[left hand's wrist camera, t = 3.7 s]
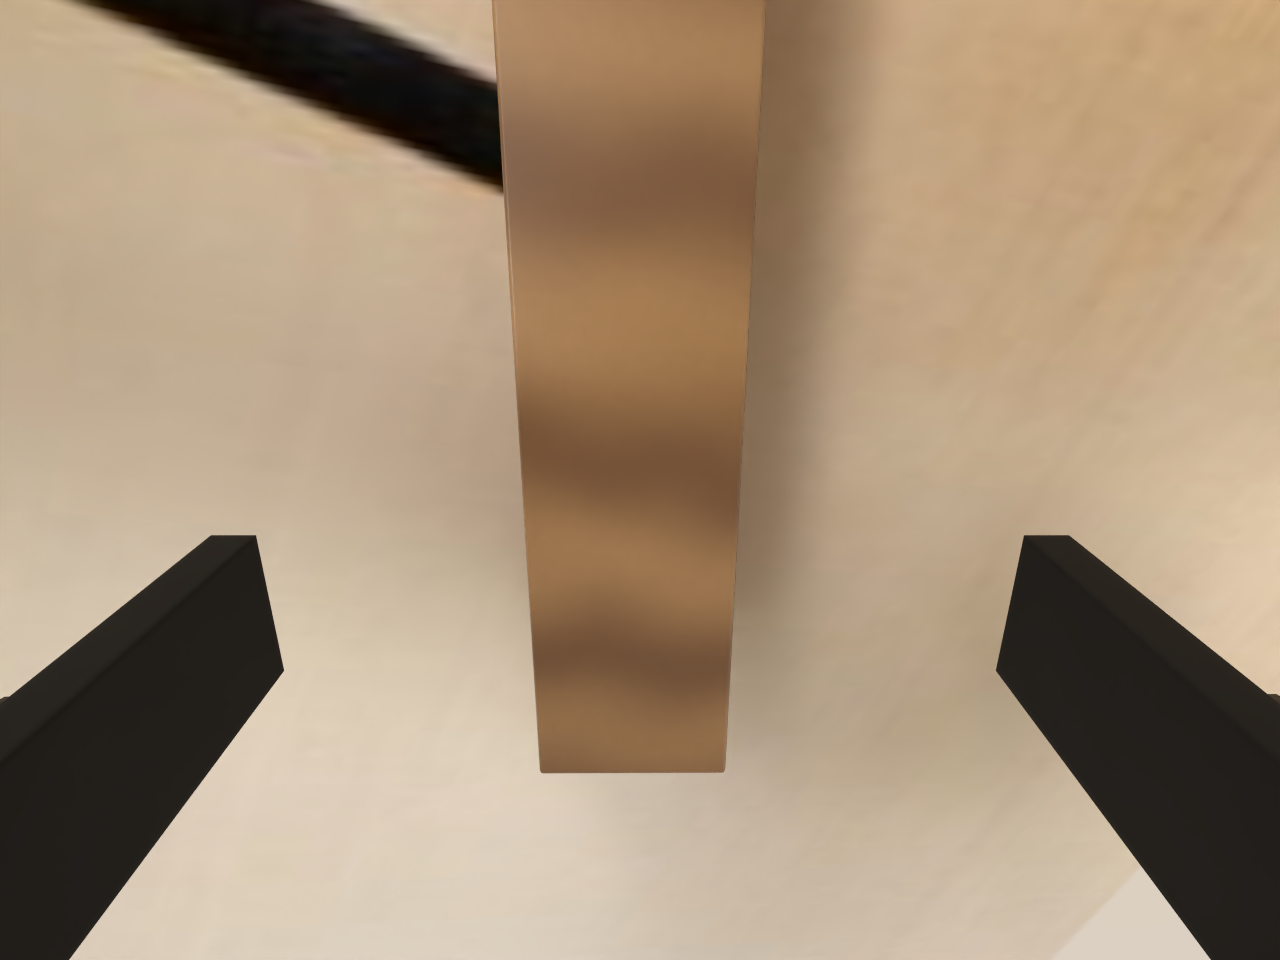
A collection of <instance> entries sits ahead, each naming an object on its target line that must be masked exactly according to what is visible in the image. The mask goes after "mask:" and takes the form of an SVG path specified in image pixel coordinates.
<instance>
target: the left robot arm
mask: <svg viewBox="0 0 1280 960" xmlns="http://www.w3.org/2000/svg"><path fill="white" fill-rule="evenodd" d="M283 671H284V668H283V663H282V658H281V654H280V649H279V644H278V639H277V635H276V630H275V625H274V620H273V615H272V611H271V606H270V601H269V596H268V591H267V587H266V582H265V577H264V572H263V567H262V563H261V558H260V553H259V548H258V543H257V539H256V535H211V536H210V537H208V538H207V539H206V540H205V541H203V542H202V543H201V544H200V545H198V546H197V547H196V548H195V549H193V550H192V551H191V552H190V553H188V554H187V555H186V556H185V557H183V558H182V559H181V560H180V561H178V562H177V563H176V564H175V565H173V566H172V567H171V568H170V569H168V570H167V571H166V572H165V573H163V574H162V575H161V576H160V577H158V578H157V579H156V580H155V581H153V582H152V583H151V584H150V585H148V586H147V587H146V588H145V589H143V590H142V591H141V592H140V593H138V594H137V595H136V596H135V597H133V598H132V599H131V600H130V601H128V602H127V603H126V604H125V605H123V606H122V607H121V608H120V609H118V610H117V611H116V612H115V613H113V614H112V615H111V616H110V617H108V618H107V619H106V620H105V621H103V622H102V623H101V624H100V625H98V626H97V627H96V628H95V629H93V630H92V631H91V632H90V633H88V634H87V635H86V636H85V637H83V638H82V639H81V640H80V641H78V642H77V643H76V644H75V645H73V646H72V647H71V648H70V649H68V650H67V651H66V652H65V653H63V654H62V655H61V656H60V657H58V658H57V659H56V660H55V661H53V662H52V663H51V664H50V665H48V666H47V667H46V668H45V669H43V670H42V671H41V672H40V673H38V674H37V675H36V676H35V677H33V678H32V679H31V680H30V681H28V682H27V683H26V684H25V685H23V686H22V687H21V688H20V689H18V690H17V691H16V692H15V693H13V694H12V695H11V696H10V697H3V698H2V699H0V960H69V959H70V958H71V956H72V955H73V954H74V952H75V951H76V950H77V948H78V947H79V946H80V944H81V943H82V942H83V940H84V939H85V938H86V936H87V935H88V934H89V932H90V931H91V930H92V928H93V927H94V925H95V924H96V923H97V921H98V920H99V919H100V917H101V916H102V915H103V913H104V912H105V911H106V909H107V908H108V907H109V905H110V904H111V903H112V901H113V900H114V899H115V897H116V896H117V895H118V893H119V892H120V891H121V889H122V888H123V887H124V885H125V884H126V882H127V881H128V880H129V878H130V877H131V876H132V874H133V873H134V872H135V870H136V869H137V868H138V866H139V865H140V864H141V862H142V861H143V860H144V858H145V857H146V856H147V854H148V853H149V852H150V850H151V849H152V848H153V846H154V845H155V843H156V842H157V841H158V839H159V838H160V837H161V835H162V834H163V833H164V831H165V830H166V829H167V827H168V826H169V825H170V823H171V822H172V821H173V819H174V818H175V817H176V815H177V814H178V813H179V811H180V810H181V809H182V807H183V806H184V805H185V803H186V802H187V800H188V799H189V798H190V796H191V795H192V794H193V792H194V791H195V790H196V788H197V787H198V786H199V784H200V783H201V782H202V780H203V779H204V778H205V776H206V775H207V774H208V772H209V771H210V770H211V768H212V767H213V766H214V764H215V763H216V762H217V760H218V759H219V757H220V756H221V755H222V753H223V752H224V751H225V749H226V748H227V747H228V745H229V744H230V743H231V741H232V740H233V739H234V737H235V736H236V735H237V733H238V732H239V731H240V729H241V728H242V727H243V725H244V724H245V723H246V721H247V720H248V718H249V717H250V716H251V714H252V713H253V712H254V710H255V709H256V708H257V706H258V705H259V704H260V702H261V701H262V700H263V698H264V697H265V696H266V694H267V693H268V692H269V690H270V689H271V688H272V686H273V685H274V684H275V682H276V681H277V680H278V678H279V677H280V675H281V674H282V673H283ZM996 671H997V673H998V674H999V675H1000V677H1001V678H1002V680H1003V681H1004V682H1005V684H1006V685H1007V686H1008V688H1009V689H1010V690H1011V692H1012V693H1013V694H1014V696H1015V697H1016V698H1017V700H1018V701H1019V702H1020V704H1021V705H1022V706H1023V708H1024V709H1025V710H1026V712H1027V713H1028V714H1029V716H1030V717H1031V718H1032V720H1033V721H1034V723H1035V724H1036V725H1037V727H1038V728H1039V729H1040V731H1041V732H1042V733H1043V735H1044V736H1045V737H1046V739H1047V740H1048V741H1049V743H1050V744H1051V745H1052V747H1053V748H1054V749H1055V751H1056V752H1057V753H1058V755H1059V756H1060V757H1061V759H1062V760H1063V762H1064V763H1065V764H1066V766H1067V767H1068V768H1069V770H1070V771H1071V772H1072V774H1073V775H1074V776H1075V778H1076V779H1077V780H1078V782H1079V783H1080V784H1081V786H1082V787H1083V788H1084V790H1085V791H1086V792H1087V794H1088V795H1089V796H1090V798H1091V799H1092V800H1093V802H1094V803H1095V805H1096V806H1097V807H1098V809H1099V810H1100V811H1101V813H1102V814H1103V815H1104V817H1105V818H1106V819H1107V821H1108V822H1109V823H1110V825H1111V826H1112V827H1113V829H1114V830H1115V831H1116V833H1117V834H1118V835H1119V837H1120V838H1121V839H1122V841H1123V842H1124V843H1125V845H1126V846H1127V848H1128V849H1129V850H1130V852H1131V853H1132V854H1133V856H1134V857H1135V858H1136V860H1137V861H1138V862H1139V864H1140V865H1141V866H1142V868H1143V869H1144V870H1145V872H1146V873H1147V874H1148V876H1149V877H1150V878H1151V880H1152V881H1153V882H1154V884H1155V885H1156V886H1157V888H1158V889H1159V891H1160V892H1161V893H1162V895H1163V896H1164V897H1165V899H1166V900H1167V901H1168V903H1169V904H1170V905H1171V907H1172V908H1173V909H1174V911H1175V912H1176V913H1177V915H1178V916H1179V917H1180V919H1181V920H1182V921H1183V923H1184V924H1185V925H1186V927H1187V928H1188V930H1189V931H1190V932H1191V934H1192V935H1193V936H1194V938H1195V939H1196V940H1197V942H1198V943H1199V944H1200V946H1201V947H1202V948H1203V950H1204V951H1205V952H1206V954H1207V955H1208V956H1209V958H1210V959H1211V960H1280V696H1279V695H1277V694H1267V693H1265V692H1264V691H1263V690H1262V689H1260V688H1259V687H1258V686H1257V685H1255V684H1254V683H1253V682H1252V681H1250V680H1249V679H1248V678H1247V677H1245V676H1244V675H1243V674H1242V673H1240V672H1239V671H1238V670H1237V669H1235V668H1234V667H1233V666H1232V665H1230V664H1229V663H1228V662H1227V661H1225V660H1224V659H1223V658H1222V657H1220V656H1219V655H1218V654H1217V653H1215V652H1214V651H1213V650H1212V649H1210V648H1209V647H1208V646H1207V645H1205V644H1204V643H1203V642H1202V641H1200V640H1199V639H1198V638H1197V637H1195V636H1194V635H1193V634H1192V633H1190V632H1189V631H1188V630H1187V629H1185V628H1184V627H1183V626H1182V625H1180V624H1179V623H1178V622H1177V621H1175V620H1174V619H1173V618H1172V617H1170V616H1169V615H1168V614H1167V613H1165V612H1164V611H1163V610H1162V609H1160V608H1159V607H1158V606H1157V605H1155V604H1154V603H1153V602H1152V601H1150V600H1149V599H1148V598H1147V597H1145V596H1144V595H1143V594H1142V593H1140V592H1139V591H1138V590H1137V589H1135V588H1134V587H1133V586H1132V585H1130V584H1129V583H1128V582H1127V581H1125V580H1124V579H1123V578H1122V577H1120V576H1119V575H1118V574H1117V573H1115V572H1114V571H1113V570H1112V569H1110V568H1109V567H1108V566H1107V565H1105V564H1104V563H1103V562H1102V561H1100V560H1099V559H1098V558H1097V557H1095V556H1094V555H1093V554H1092V553H1090V552H1089V551H1088V550H1087V549H1085V548H1084V547H1083V546H1082V545H1080V544H1079V543H1078V542H1077V541H1075V540H1074V539H1073V538H1072V537H1070V536H1069V535H1024V539H1023V543H1022V548H1021V553H1020V558H1019V563H1018V567H1017V572H1016V577H1015V582H1014V587H1013V591H1012V596H1011V601H1010V606H1009V611H1008V615H1007V620H1006V625H1005V630H1004V635H1003V639H1002V644H1001V649H1000V654H999V658H998V663H997V668H996Z"/></svg>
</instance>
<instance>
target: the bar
mask: <svg viewBox="0 0 1280 960" xmlns="http://www.w3.org/2000/svg"><path fill="white" fill-rule="evenodd" d="M492 10H493V26H494V42H495V58H496V74H497V90H498V106H499V122H500V138H501V154H502V170H503V186H504V202H505V218H506V234H507V250H508V266H509V282H510V298H511V314H512V330H513V346H514V362H515V378H516V394H517V410H518V426H519V442H520V458H521V474H522V490H523V506H524V522H525V538H526V554H527V570H528V586H529V602H530V618H531V634H532V650H533V666H534V682H535V698H536V714H537V730H538V746H539V762H540V771H541V773H720V772H724V770H725V762H726V743H727V725H728V706H729V687H730V668H731V650H732V631H733V612H734V593H735V574H736V556H737V537H738V518H739V499H740V480H741V462H742V443H743V424H744V405H745V386H746V368H747V349H748V330H749V311H750V293H751V274H752V255H753V236H754V217H755V199H756V180H757V161H758V142H759V123H760V105H761V86H762V67H763V48H764V30H765V11H766V0H492Z"/></svg>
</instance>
